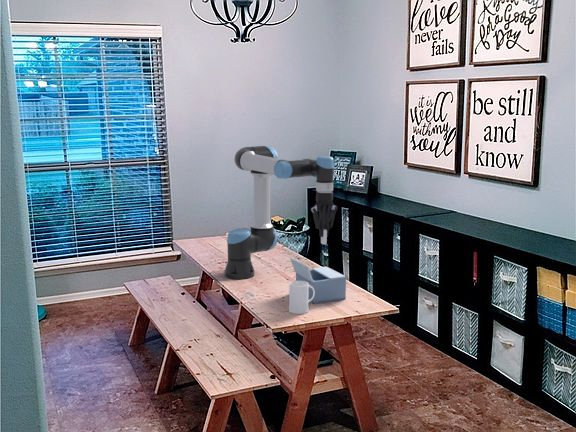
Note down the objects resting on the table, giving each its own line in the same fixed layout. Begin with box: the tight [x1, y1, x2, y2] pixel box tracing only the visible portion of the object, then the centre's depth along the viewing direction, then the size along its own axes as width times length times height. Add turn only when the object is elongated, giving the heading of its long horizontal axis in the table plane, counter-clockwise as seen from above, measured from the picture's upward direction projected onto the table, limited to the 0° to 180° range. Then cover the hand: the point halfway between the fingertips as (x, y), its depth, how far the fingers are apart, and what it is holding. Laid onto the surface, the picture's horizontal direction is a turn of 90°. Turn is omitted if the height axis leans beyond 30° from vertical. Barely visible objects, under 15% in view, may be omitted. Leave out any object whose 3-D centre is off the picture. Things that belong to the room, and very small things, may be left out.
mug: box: [288, 280, 315, 315], centre depth 255 cm, size 12×8×12 cm
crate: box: [295, 269, 347, 305], centre depth 274 cm, size 16×18×10 cm
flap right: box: [311, 266, 346, 279], centre depth 274 cm, size 7×18×1 cm, turn 25°
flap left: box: [289, 256, 314, 282], centre depth 268 cm, size 7×18×1 cm
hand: (323, 243), depth 271 cm, fingers closed
